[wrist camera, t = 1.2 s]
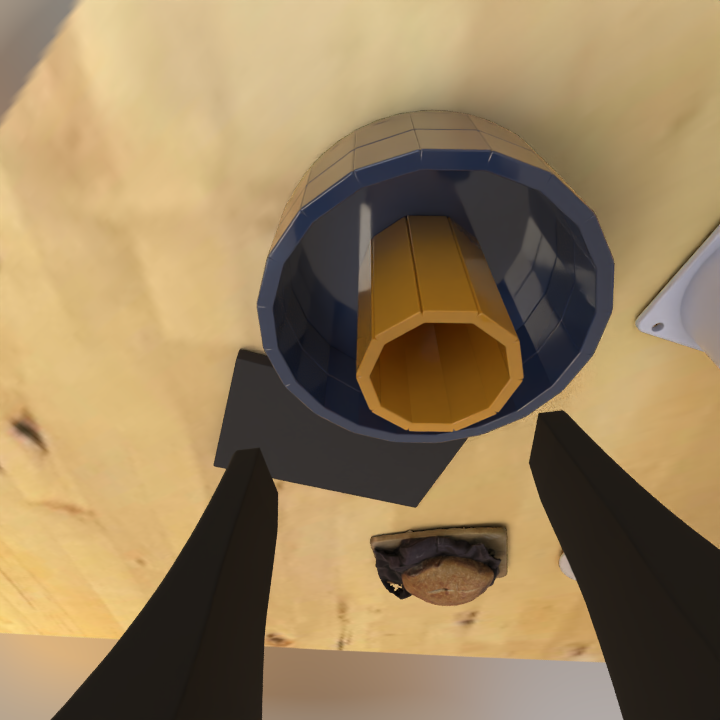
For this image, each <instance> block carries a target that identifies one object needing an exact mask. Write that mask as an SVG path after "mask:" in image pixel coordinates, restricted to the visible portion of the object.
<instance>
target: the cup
mask: <svg viewBox="0 0 720 720" xmlns="http://www.w3.org/2000/svg"><path fill="white" fill-rule="evenodd" d="M523 378H524V374H523V365H522V357H521V348H520V341H519V338H518V336H517V334H516V331H515V329H514V326H513V324H512V321H511V319H510V317H509V314H508V312H507V309H506V307H505V305H504V302H503V300H502V297H501V295H500V293H499V290H498V288H497V285H496V283H495V281H494V278H493V276H492V273H491V271H490V268H489V266H488V264H487V261H486V259H485V256H484V254H483V252H482V249H481V247H480V244H479V242H478V241H477V239H476V238H475V237H474V236H473V235H471V234H470V233H469V232H468V231H466V230H465V229H464V228H463V227H461V226H460V225H459V224H458V223H456V222H455V221H454V220H453V219H451V218H450V217H448V218H447V216H407V218H406V217H403V218H401V219H400V220H398V221H397V222H395V223H394V224H392V225H391V226H389V227H388V228H386V229H385V230H383V231H381V232H380V233H378V234H377V235H375V236H374V237H373V239H371V240H370V243H369V245H368V248H367V251H366V253H365V256H364V259H363V261H362V264H361V267H360V269H359V289H358V325H357V361H356V379H357V381H358V384H359V386H360V388H361V391H362V393H363V395H364V398H365V400H366V402H367V405H368V407H369V409H370V410H372V412H373V413H375V414H376V415H378V416H380V417H382V418H384V419H386V420H388V421H390V422H391V423H393V424H395V425H397V426H399V427H401V428H403V429H405V430H408V429H409V431H435V432H453V430H455V431H458V430H460V429H462V428H465V427H467V426H469V425H472V424H474V423H476V422H479V421H481V420H484V419H486V418H488V417H491V416H493V415H495V414H496V412H499V411H500V410H501V409H502V407H503V406H504V405H505V403H506V402H507V401H508V399H509V398H510V397H511V396H512V394H513V393H514V392H515V390H516V389H517V388H518V386H519V385H520V384H521V382H522V381H523Z"/></svg>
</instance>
